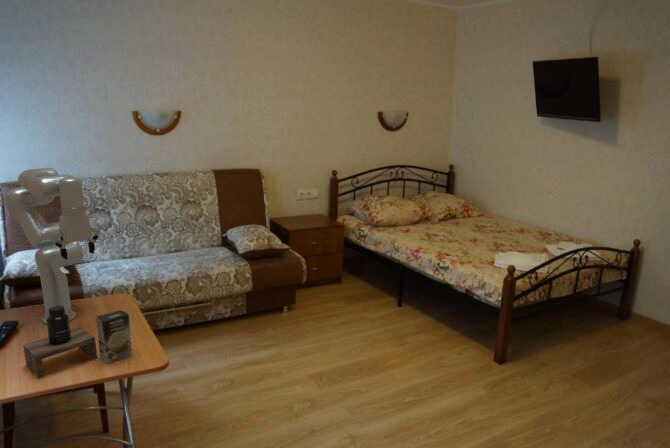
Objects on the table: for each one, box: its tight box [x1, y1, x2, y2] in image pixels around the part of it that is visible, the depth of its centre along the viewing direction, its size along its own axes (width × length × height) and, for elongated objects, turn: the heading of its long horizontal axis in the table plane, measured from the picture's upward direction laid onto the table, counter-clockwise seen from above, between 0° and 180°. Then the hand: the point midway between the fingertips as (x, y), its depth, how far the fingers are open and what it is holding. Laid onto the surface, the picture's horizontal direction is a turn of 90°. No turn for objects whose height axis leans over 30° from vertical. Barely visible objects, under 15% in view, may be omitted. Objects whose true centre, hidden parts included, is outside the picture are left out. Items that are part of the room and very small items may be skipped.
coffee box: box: [95, 309, 133, 365], centre depth 179 cm, size 9×6×16 cm
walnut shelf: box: [22, 327, 98, 380], centre depth 176 cm, size 12×19×8 cm, turn 137°
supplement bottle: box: [46, 306, 71, 345], centre depth 174 cm, size 7×7×12 cm
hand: (78, 255), depth 191 cm, fingers open, 9 cm apart
